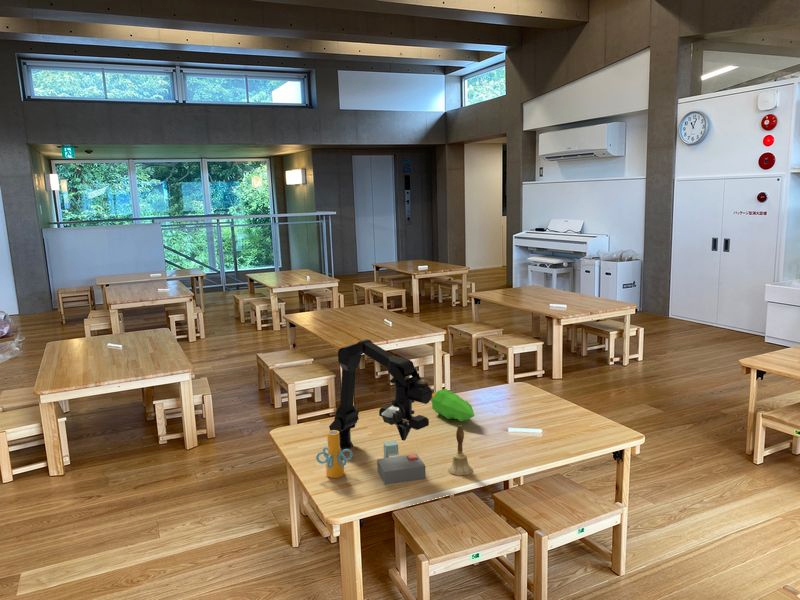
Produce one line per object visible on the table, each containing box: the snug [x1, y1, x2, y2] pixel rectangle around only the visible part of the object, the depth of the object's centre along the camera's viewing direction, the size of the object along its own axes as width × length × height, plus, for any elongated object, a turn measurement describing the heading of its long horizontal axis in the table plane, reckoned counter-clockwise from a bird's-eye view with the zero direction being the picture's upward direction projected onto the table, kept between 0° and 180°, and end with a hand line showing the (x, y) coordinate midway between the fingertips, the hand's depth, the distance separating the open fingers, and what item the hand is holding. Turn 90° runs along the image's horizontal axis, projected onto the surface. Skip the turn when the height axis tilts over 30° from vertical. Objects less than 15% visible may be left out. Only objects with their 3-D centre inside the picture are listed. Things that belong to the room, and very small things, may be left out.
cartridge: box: [383, 440, 400, 458], centre depth 205 cm, size 18×4×6 cm, turn 16°
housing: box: [376, 453, 427, 486], centre depth 200 cm, size 10×14×5 cm
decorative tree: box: [430, 388, 475, 422], centre depth 248 cm, size 11×12×30 cm
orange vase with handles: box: [315, 430, 353, 479], centre depth 201 cm, size 12×10×15 cm
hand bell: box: [447, 424, 474, 477], centre depth 201 cm, size 8×8×16 cm
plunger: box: [406, 453, 417, 461], centre depth 203 cm, size 3×3×5 cm
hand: (403, 440), depth 205 cm, fingers closed
